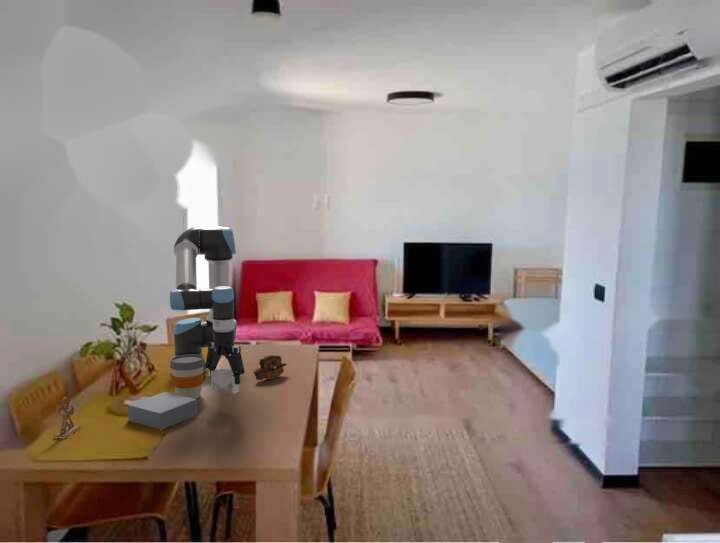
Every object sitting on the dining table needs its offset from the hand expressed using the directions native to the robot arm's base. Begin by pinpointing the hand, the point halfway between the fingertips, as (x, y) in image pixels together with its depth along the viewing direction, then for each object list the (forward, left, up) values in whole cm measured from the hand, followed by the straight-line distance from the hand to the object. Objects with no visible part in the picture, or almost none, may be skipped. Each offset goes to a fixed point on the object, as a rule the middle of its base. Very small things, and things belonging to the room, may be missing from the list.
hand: (225, 390), depth 208 cm
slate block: (-12, -18, -7) cm, 23 cm away
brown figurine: (-28, -43, -7) cm, 52 cm away
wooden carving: (-8, +36, -7) cm, 37 cm away
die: (0, 0, 0) cm, 0 cm away
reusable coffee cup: (-21, +2, -7) cm, 22 cm away
